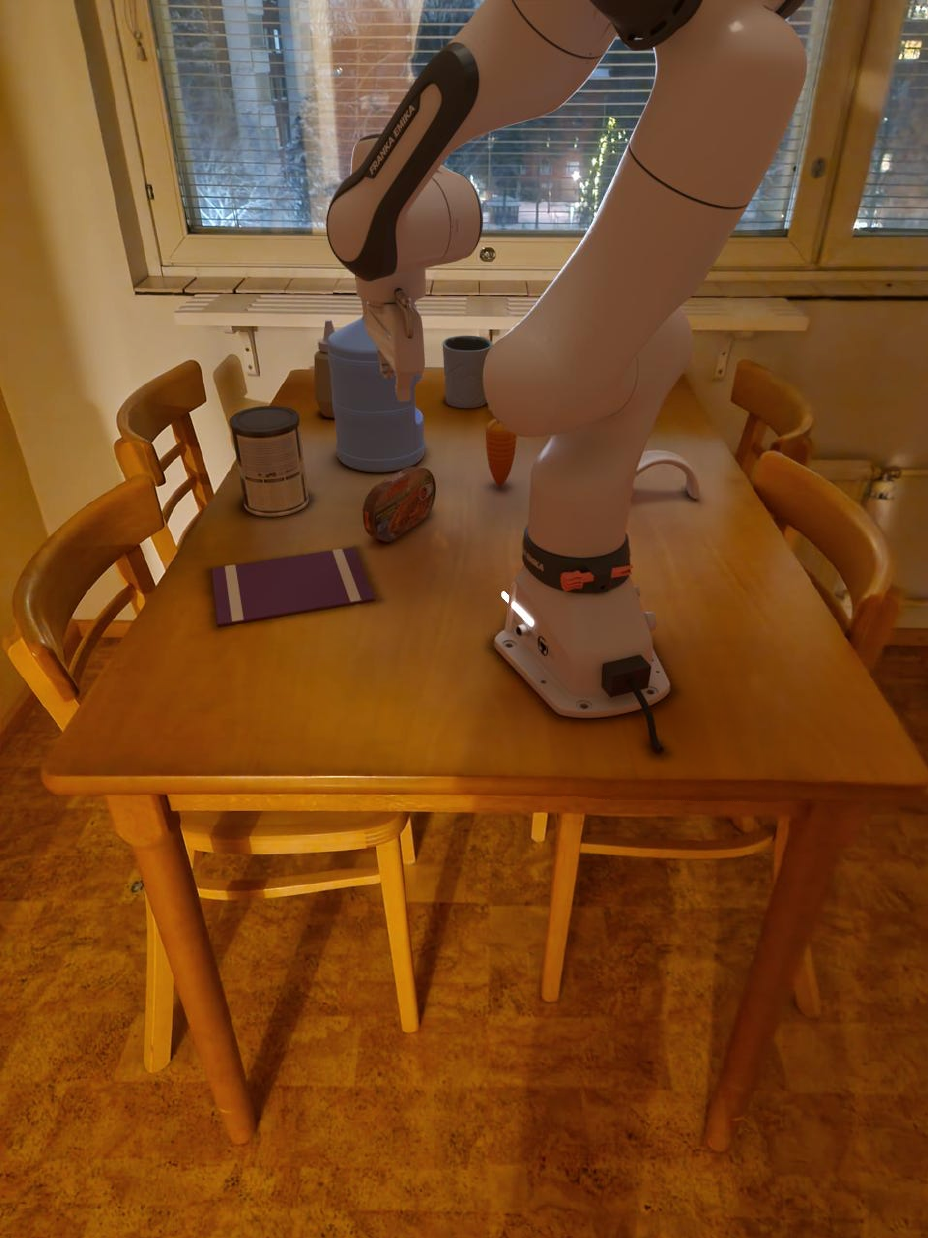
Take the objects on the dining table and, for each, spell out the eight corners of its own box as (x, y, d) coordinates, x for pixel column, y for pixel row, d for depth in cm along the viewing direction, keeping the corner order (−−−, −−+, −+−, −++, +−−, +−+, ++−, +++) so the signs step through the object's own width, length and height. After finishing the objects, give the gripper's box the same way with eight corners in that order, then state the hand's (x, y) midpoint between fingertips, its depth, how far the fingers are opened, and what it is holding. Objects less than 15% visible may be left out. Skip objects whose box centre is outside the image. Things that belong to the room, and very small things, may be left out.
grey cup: (461, 389, 173) (462, 332, 166) (501, 399, 168) (503, 340, 161) (433, 403, 166) (431, 344, 159) (473, 413, 161) (473, 353, 154)
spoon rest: (555, 513, 126) (558, 471, 122) (545, 481, 136) (548, 440, 132) (704, 510, 127) (712, 468, 123) (684, 478, 137) (691, 438, 133)
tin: (377, 551, 116) (374, 498, 112) (361, 545, 118) (356, 492, 113) (438, 511, 127) (437, 461, 122) (422, 506, 128) (420, 456, 123)
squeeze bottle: (365, 411, 162) (359, 318, 152) (339, 423, 157) (331, 328, 146) (334, 403, 166) (326, 312, 156) (307, 415, 160) (297, 322, 150)
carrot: (512, 494, 132) (515, 405, 123) (482, 491, 132) (483, 402, 124) (516, 481, 136) (520, 394, 127) (487, 478, 136) (489, 391, 128)
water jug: (371, 482, 135) (359, 308, 119) (320, 454, 145) (302, 289, 129) (443, 457, 144) (441, 291, 128) (390, 432, 153) (381, 275, 137)
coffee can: (231, 502, 129) (215, 417, 121) (285, 482, 135) (274, 400, 127) (267, 523, 123) (253, 436, 115) (322, 502, 129) (312, 417, 121)
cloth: (374, 600, 106) (374, 597, 106) (218, 626, 101) (217, 623, 101) (354, 549, 117) (354, 546, 117) (212, 570, 112) (211, 567, 112)
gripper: (436, 298, 95) (437, 412, 103) (397, 262, 111) (401, 363, 119) (383, 302, 93) (389, 417, 101) (351, 265, 109) (358, 366, 117)
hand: (395, 387), depth 110 cm, fingers open, 8 cm apart
